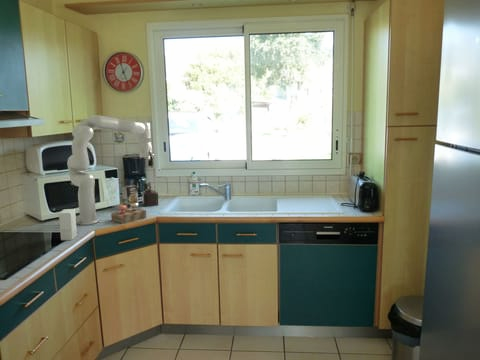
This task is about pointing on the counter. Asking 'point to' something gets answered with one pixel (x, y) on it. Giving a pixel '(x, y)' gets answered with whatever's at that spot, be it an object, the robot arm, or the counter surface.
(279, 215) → the counter surface
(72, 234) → the skincare box
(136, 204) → the grey plunger
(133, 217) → the button box
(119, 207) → the red plunger
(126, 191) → the coffee box
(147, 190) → the brown storage container
